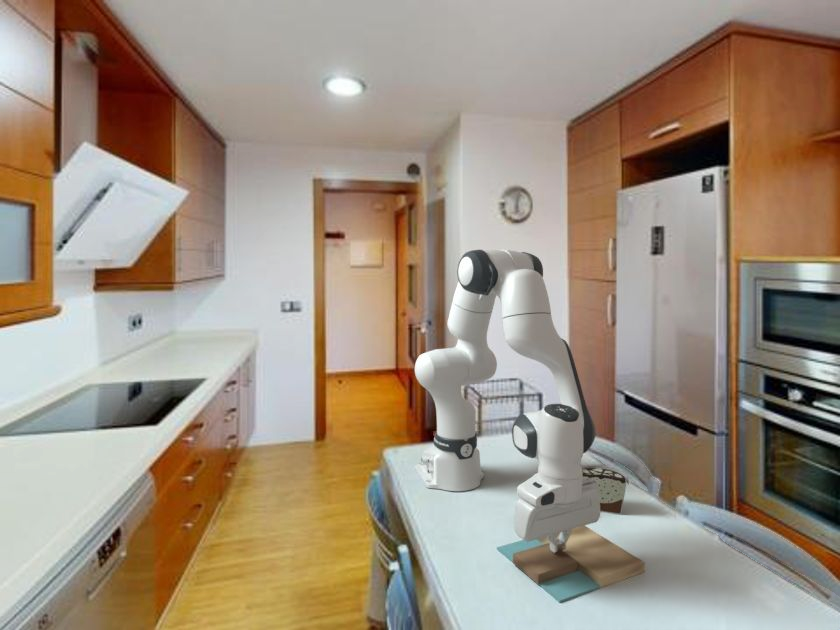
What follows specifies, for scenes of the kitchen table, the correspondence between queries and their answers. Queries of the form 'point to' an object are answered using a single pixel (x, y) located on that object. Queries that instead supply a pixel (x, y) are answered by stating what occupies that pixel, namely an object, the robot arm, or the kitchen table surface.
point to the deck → (600, 557)
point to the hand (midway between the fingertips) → (557, 549)
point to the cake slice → (608, 486)
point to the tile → (544, 563)
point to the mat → (559, 586)
